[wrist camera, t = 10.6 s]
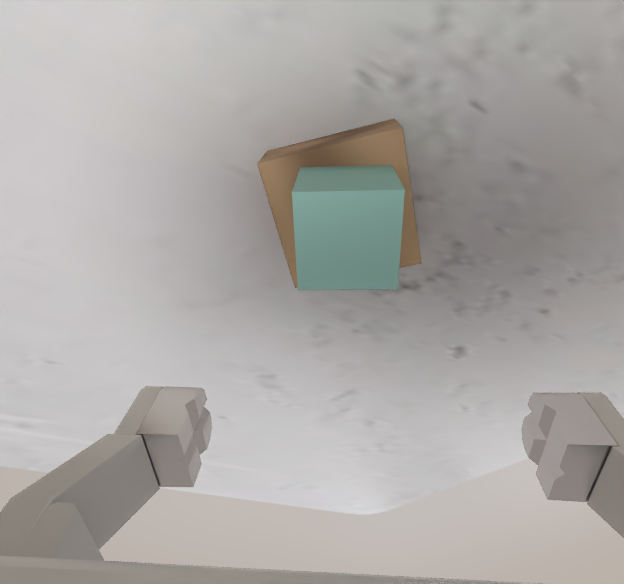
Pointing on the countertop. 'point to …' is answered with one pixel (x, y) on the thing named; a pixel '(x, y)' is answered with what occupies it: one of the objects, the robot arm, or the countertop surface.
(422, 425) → the countertop surface
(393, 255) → the teal cube
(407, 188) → the walnut slab
